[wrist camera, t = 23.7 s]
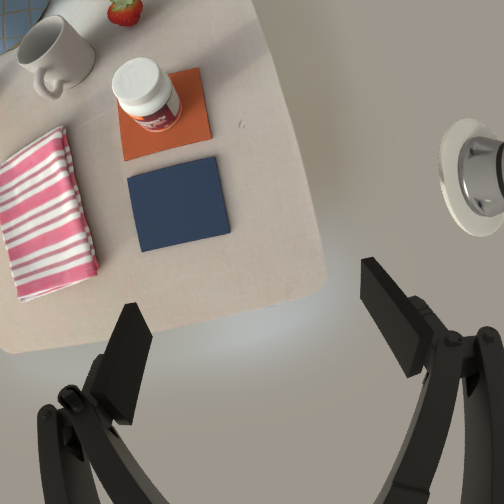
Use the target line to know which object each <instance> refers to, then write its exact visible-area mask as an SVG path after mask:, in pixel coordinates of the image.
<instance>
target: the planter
mask: <svg viewBox="0 0 504 504" xmlns="http://www.w3.org/2000/svg"><path fill="white" fill-rule="evenodd" d="M49 2H50V0H0V54H2V53H4V52H6V51H8V50H11V49H14V48H16V47H17V46H18V45H19V44H20V43H21V41H22V40H23V38H24V37H25V35H26V34H27V33H28V31H29V30H30V29H31V28H32V27H33V26H34V25H35V24H36V22H37V21H38V20H39V18H40V17H41V15H42V14H43V12H44V10H45V9H46V7H47V5H48V4H49Z"/></svg>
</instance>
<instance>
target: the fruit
mask: <svg viewBox="0 0 504 504" xmlns="http://www.w3.org/2000/svg"><path fill="white" fill-rule="evenodd" d="M110 1H111V2H113V4H112V5H111V6H110V7H109V9H108V11H107V15H108V18H109V20H110V21H111V22H112V23H114V24H118V25H120V26H125V27H130V26H133V25H135V24H136V23H137V22H138V20H139V17H140V13H141V11H142V8H143V4H142V2H141V0H110Z"/></svg>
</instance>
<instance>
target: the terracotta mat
mask: <svg viewBox="0 0 504 504" xmlns="http://www.w3.org/2000/svg"><path fill="white" fill-rule="evenodd" d="M168 76H169V78H170V80H171V82H172V84H173V86H174V88H175V90H176V92H177V94H178V96H179V99H180V101H181V105H182V111H181V115H180V117H179V119H178V120H177V122H176V123H175V124H174V125H173V126H172V127H170V128H169V129H167V130H164V131H161V132H152V131H148V130H146V129H145V128H143V127H142V126H141V125H140V124H139V123H137V122H136V121H135V120H134V119H133V118H132V117H131V116H129V115H128V114H127V113H126V112H125V111H124V110H123V109H122V107H121V106H120V104H119V101H118V97H117V101H118V112H119V122H120V131H121V140H122V148H123V155H124V161H128V160H131V159H134V158H138V157H141V156H144V155H148V154H152V153H155V152H159V151H163V150H166V149H170V148H174V147H178V146H182V145H187V144H191V143H195V142H200V141H204V140H209V139H211V133H210V128H209V123H208V117H207V112H206V106H205V101H204V96H203V90H202V84H201V79H200V73H199V68H193V69H189V70H184V71H180V72H176V73H172V74H168Z"/></svg>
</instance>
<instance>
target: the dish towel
mask: <svg viewBox="0 0 504 504" xmlns="http://www.w3.org/2000/svg"><path fill="white" fill-rule="evenodd" d="M0 223H1V229H2V232H3V239H4V242H5V246H6V249H7V251H8V254H9V260H10V267H11V271H12V276H13V278H14V283H15V285H16V287H17V297H18V299H21V302H26V301H29V300H32V299H35V298H38V297H41V296H44V295H46V294H49V293H51V292H54V291H57V290H60V289H63V288H66V287H69V286H71V285H74V284H76V283H79V282H82V281H84V280H87V279H89V278H91V277H94V276H97V270H99V269H100V266H99V264H98V262H97V260H96V258H95V250H94V247H93V241H92V237H91V234H90V230H89V227H88V225H87V222H86V219H85V216H84V211H83V206H82V203H81V197H80V194H79V191H78V186H77V183H76V180H75V176H74V167H73V163H72V156H71V153H70V147H69V144H68V141H67V137H66V129H65V127H64V126H63V125H61V126H58V127H56V128H55V129H53V130H51V131H49V132H48V133H46V134H45V135H43V136H41V137H40V138H38V139H37V140H35V141H34V142H32V143H31V144H29V145H27V146H26V147H24V148H23V149H21V150H20V151H19V152H17V153H16V154H14V155H13V156H11V157H10V158H9V159H7V160H6V161H5V162H4V163H2V164H1V165H0Z"/></svg>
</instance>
